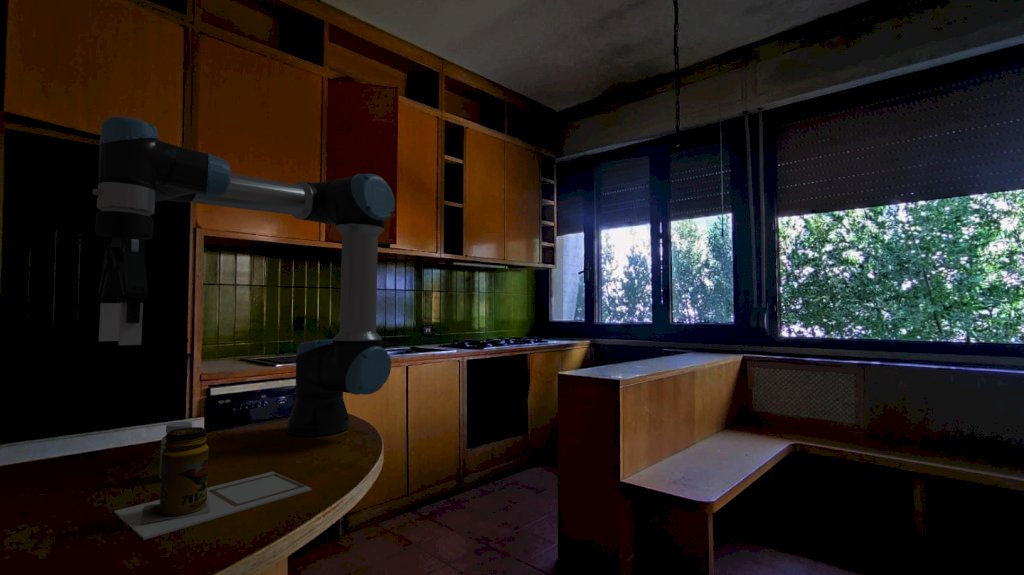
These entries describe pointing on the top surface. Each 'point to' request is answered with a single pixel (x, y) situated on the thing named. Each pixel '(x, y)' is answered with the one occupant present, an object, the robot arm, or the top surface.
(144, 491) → the top surface
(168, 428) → the supplement bottle
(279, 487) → the sheet
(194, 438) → the condiment
